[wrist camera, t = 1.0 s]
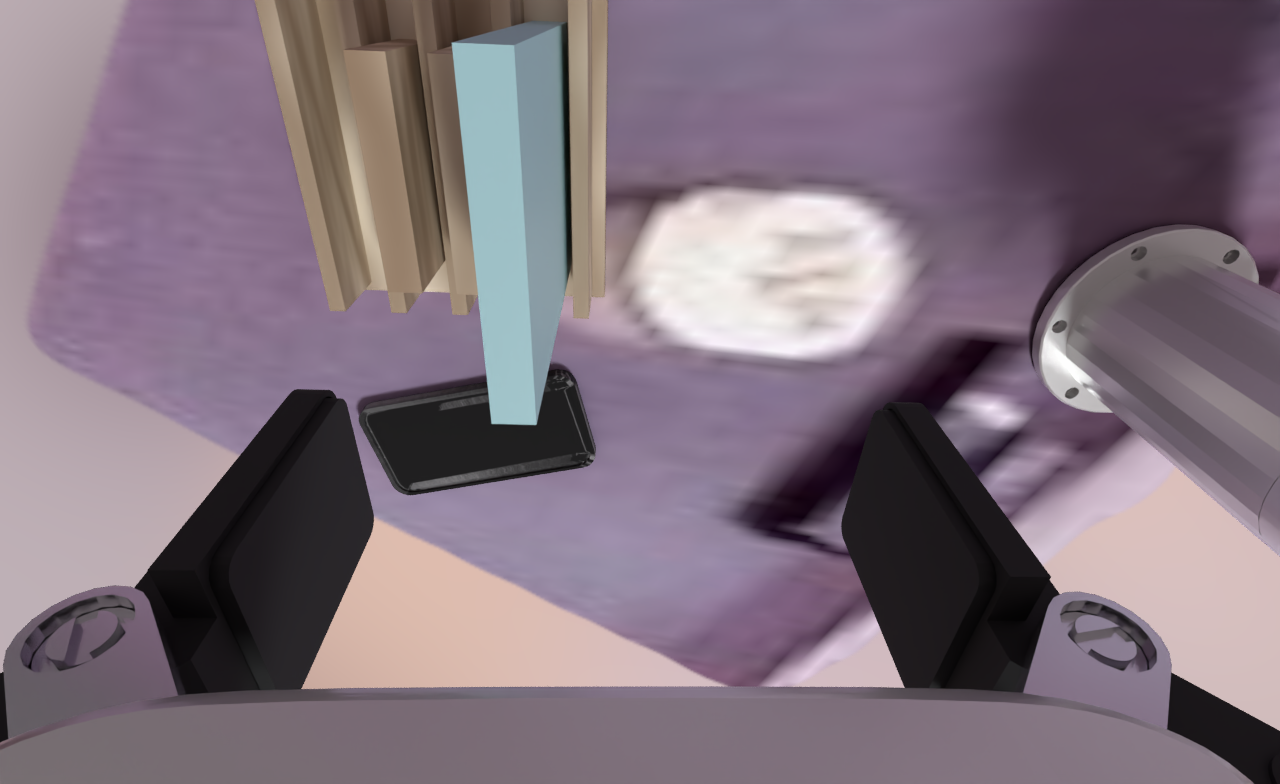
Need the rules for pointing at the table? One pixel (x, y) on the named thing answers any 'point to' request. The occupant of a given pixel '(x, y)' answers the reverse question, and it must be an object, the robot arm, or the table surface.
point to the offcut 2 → (453, 168)
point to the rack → (329, 141)
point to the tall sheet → (517, 202)
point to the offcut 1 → (397, 160)
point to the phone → (476, 437)
